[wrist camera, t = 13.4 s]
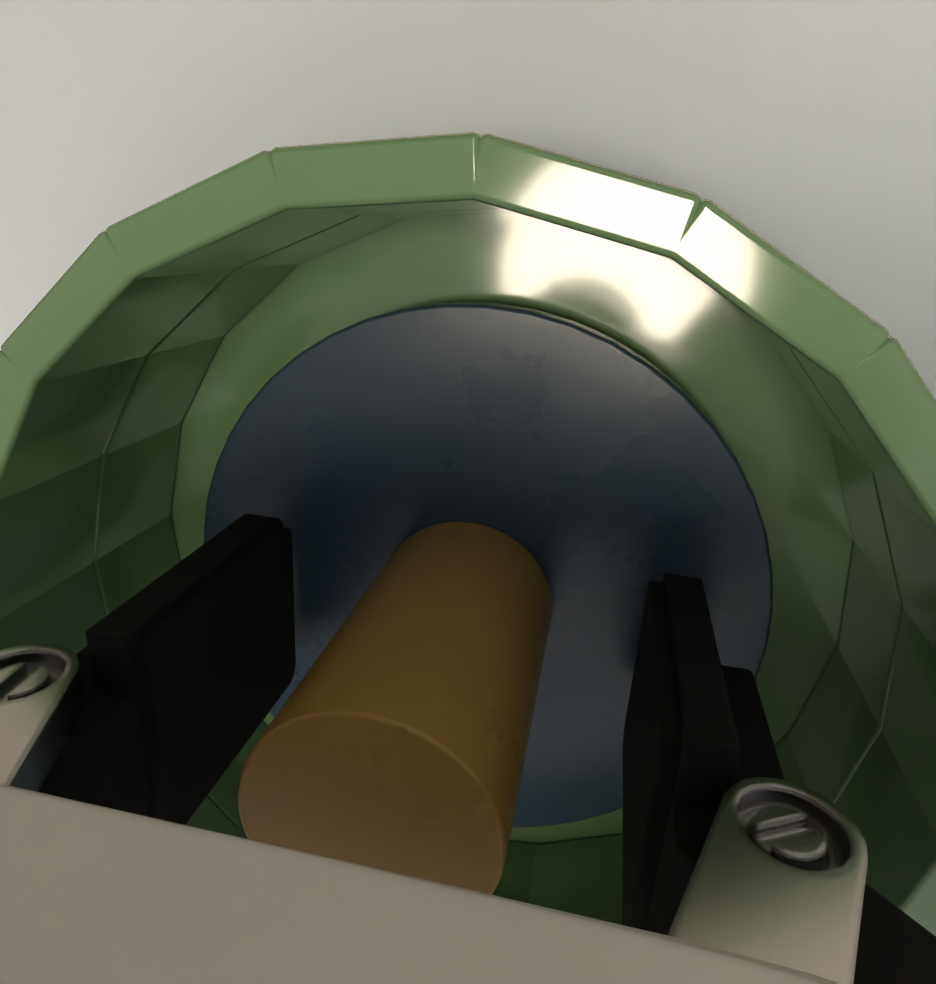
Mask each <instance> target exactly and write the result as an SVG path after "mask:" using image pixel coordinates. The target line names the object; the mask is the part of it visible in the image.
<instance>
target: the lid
mask: <svg viewBox="0 0 936 984" xmlns="http://www.w3.org/2000/svg"><path fill="white" fill-rule="evenodd" d="M245 514H254V515H261V516H268V517H275V518H279V519H280V520H281V521H282V524H283V527H286V528H289V529H290V530H291V533H292V546H293V581H294V616H295V651H296V667H295V672H294V676H293V679H292V681H291V683H290V685H289V686H288V687H287V689H286V690H285V692H284V693H283V694H282V696H281V697H280V698H279V700H278V701H277V702H276V704H275V705H274V706H273V708H272V709H271V710H270V712H269V713H270V714H271V715H272V716H273V717H274V719H273V720H272V722H271V723H270V725H269V726H268V727H267V729H266V730H265V731H264V733H263V734H262V736H261V737H260V738H259V740H258V741H257V743H256V744H255V745H254V747H253V748H252V750H251V751H250V753H249V755H248V757H247V758H246V760H245V763H244V766H243V768H242V771H241V775H240V781H239V787H238V806H239V813H240V818H241V822H242V825H243V829H244V832H245V834H246V836H247V838H248V839H249V840H254V841H258V842H263V843H267V844H271V845H276V846H280V847H285V848H289V849H293V850H298V851H302V852H307V853H311V854H315V855H320V856H324V857H329V858H333V859H337V860H342V861H346V862H351V863H355V864H359V865H364V866H368V867H373V868H377V869H381V870H386V871H390V872H395V873H399V874H403V875H408V876H412V877H417V878H421V879H425V880H430V881H434V882H439V883H443V884H447V885H452V886H456V887H460V888H465V889H469V890H473V891H477V892H482V893H486V894H490V895H492V894H493V892H494V890H495V889H496V887H497V886H498V884H499V881H500V879H501V876H502V874H503V870H504V865H505V860H506V855H507V850H508V844H509V839H510V834H511V829H512V828H522V827H540V826H552V825H558V824H564V823H570V822H576V821H582V820H585V819H589V818H592V817H596V816H599V815H603V814H606V813H610V812H613V811H615V810H618V809H620V808H622V807H623V735H624V726H625V719H626V713H627V707H628V701H629V695H630V689H631V683H632V678H633V672H634V666H635V660H636V654H637V648H638V642H639V636H640V630H641V624H642V618H643V612H644V606H645V600H646V595H647V589H648V584H649V581H650V580H652V581H659V582H662V579H663V576H664V574H665V573H667V574H674V575H681V576H688V577H695V578H701V579H702V582H703V586H704V591H705V595H706V600H707V604H708V609H709V613H710V617H711V622H712V626H713V631H714V635H715V639H716V644H717V648H718V653H719V657H720V662H721V665H725V666H731V667H738V668H744V669H749V670H751V671H752V673H753V676H754V678H755V680H756V678H757V675H758V672H759V669H760V666H761V663H762V660H763V657H764V654H765V651H766V647H767V643H768V637H769V631H770V625H771V618H772V612H773V570H772V563H771V557H770V550H769V544H768V537H767V533H766V530H765V526H764V523H763V520H762V517H761V514H760V511H759V507H758V504H757V501H756V498H755V495H754V493H753V491H752V489H751V487H750V485H749V483H748V481H747V479H746V477H745V475H744V473H743V471H742V469H741V467H740V465H739V463H738V461H737V459H736V457H735V455H734V453H733V451H732V450H731V448H730V447H729V445H728V444H727V442H726V441H725V440H724V438H723V437H722V435H721V434H720V432H719V431H718V429H717V428H716V426H715V425H714V423H713V422H712V420H711V419H710V418H709V417H708V416H707V415H706V414H705V412H704V411H703V410H702V409H701V408H700V407H699V406H698V405H697V404H696V403H695V402H694V400H693V399H692V398H691V397H690V396H689V395H688V394H687V393H686V392H685V391H684V389H683V388H681V387H680V386H679V385H678V384H677V383H675V382H674V381H673V380H672V379H671V378H669V377H668V376H667V375H666V374H665V373H663V372H662V371H661V370H660V369H659V368H657V367H656V366H655V365H654V364H653V363H651V362H650V361H649V360H647V359H646V358H644V357H642V356H641V355H639V354H637V353H636V352H634V351H633V350H631V349H629V348H628V347H626V346H625V345H623V344H621V343H620V342H618V341H617V340H615V339H613V338H611V337H609V336H607V335H605V334H602V333H600V332H598V331H596V330H593V329H591V328H589V327H587V326H584V325H582V324H580V323H578V322H576V321H573V320H570V319H566V318H563V317H559V316H556V315H553V314H549V313H546V312H543V311H539V310H536V309H532V308H525V307H519V306H512V305H506V304H499V303H493V302H443V303H435V304H427V305H419V306H411V307H407V308H403V309H400V310H396V311H392V312H389V313H385V314H381V315H378V316H374V317H371V318H368V319H365V320H362V321H360V322H358V323H355V324H353V325H351V326H348V327H346V328H344V329H342V330H339V331H337V332H335V333H332V334H330V335H328V336H327V337H325V338H324V339H322V340H320V341H319V342H317V343H315V344H314V345H312V346H311V347H309V348H307V349H306V350H304V351H303V352H301V353H299V354H298V355H297V356H296V357H294V358H293V359H292V360H291V361H290V362H289V363H287V364H286V365H285V366H284V367H283V368H282V369H280V370H279V371H278V372H277V373H276V374H275V375H273V376H272V377H271V378H270V379H269V380H268V382H267V383H266V384H265V385H264V386H263V387H262V388H261V390H260V391H259V392H258V393H257V394H256V395H255V397H254V398H253V399H252V400H251V401H250V402H249V404H248V405H247V407H246V408H245V410H244V411H243V413H242V414H241V416H240V418H239V419H238V421H237V422H236V424H235V426H234V427H233V429H232V430H231V432H230V434H229V436H228V438H227V441H226V443H225V445H224V448H223V450H222V452H221V454H220V457H219V459H218V461H217V464H216V467H215V471H214V475H213V478H212V482H211V486H210V489H209V493H208V498H207V506H206V514H205V522H204V544H205V543H206V542H207V541H209V540H210V539H211V538H213V537H214V536H215V535H217V534H218V533H220V532H221V531H222V530H224V529H225V528H226V527H228V526H229V525H230V524H232V523H233V522H234V521H236V520H237V519H239V518H240V517H241V516H243V515H245Z"/></svg>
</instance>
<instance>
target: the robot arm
mask: <svg viewBox="0 0 936 984" xmlns="http://www.w3.org/2000/svg"><path fill="white" fill-rule="evenodd" d="M85 633H86V640H87V646H86V647H85V648H83V649H82V650H81V651H79V652H78V653H77V654H76V653H74V652H73V651H71V650H70V649H69V648H66V647H63V646H59V645H55V644H29V645H20V646H16V647H11V648H7V649H3V650H0V984H936V936H934V935H933V934H932V933H930V932H929V931H928V930H927V929H925V928H924V927H923V926H921V925H920V924H919V923H917V922H916V921H915V920H913V919H912V918H911V917H910V916H908V915H907V914H906V913H904V912H903V911H902V910H900V909H899V908H898V907H896V906H895V905H894V904H893V903H891V902H890V901H889V900H887V899H886V898H885V897H883V896H882V895H881V894H879V893H878V892H877V891H876V890H874V889H873V888H872V887H870V886H869V885H868V884H866V883H865V881H866V873H867V865H868V854H867V846H866V842H865V840H864V838H863V836H862V834H861V832H860V831H859V829H858V827H857V825H856V824H855V823H854V822H853V821H852V820H851V819H850V818H849V817H848V815H847V814H846V813H845V812H844V811H843V810H842V809H841V808H839V807H838V806H836V805H835V804H834V803H832V802H831V801H830V800H828V799H827V798H826V797H824V796H823V795H821V794H819V793H817V792H815V791H813V790H811V789H809V788H807V787H805V786H803V785H800V784H796V783H793V782H790V781H787V780H784V777H783V773H782V770H781V766H780V763H779V760H778V756H777V753H776V749H775V746H774V743H773V739H772V736H771V733H770V729H769V726H768V722H767V719H766V716H765V712H764V709H763V705H762V702H761V699H760V695H759V692H758V688H757V685H756V682H755V678H754V676H753V673H752V671H751V670H749V669H744V668H738V667H731V666H725V665H721V662H720V657H719V653H718V648H717V644H716V639H715V635H714V631H713V626H712V622H711V617H710V613H709V609H708V604H707V600H706V595H705V591H704V586H703V582H702V579H701V578H695V577H688V576H681V575H674V574H667V573H665V574H664V576H663V579H662V582H659V581H652V580H650V581H649V584H648V589H647V595H646V600H645V606H644V612H643V618H642V624H641V630H640V636H639V642H638V648H637V654H636V660H635V666H634V672H633V678H632V683H631V689H630V695H629V701H628V707H627V713H626V719H625V726H624V735H623V883H622V925H620V924H615V923H611V922H607V921H603V920H598V919H594V918H590V917H585V916H581V915H577V914H572V913H568V912H564V911H559V910H555V909H551V908H546V907H542V906H538V905H534V904H529V903H525V902H521V901H516V900H512V899H508V898H503V897H499V896H495V895H490V894H486V893H482V892H477V891H473V890H469V889H465V888H460V887H456V886H452V885H447V884H443V883H439V882H434V881H430V880H425V879H421V878H417V877H412V876H408V875H403V874H399V873H395V872H390V871H386V870H381V869H377V868H373V867H368V866H364V865H359V864H355V863H351V862H346V861H342V860H337V859H333V858H329V857H324V856H320V855H315V854H311V853H307V852H302V851H298V850H293V849H289V848H285V847H280V846H276V845H271V844H267V843H263V842H258V841H254V840H249V839H245V838H240V837H236V836H232V835H227V834H223V833H218V832H214V831H209V830H205V829H200V828H196V827H191V826H187V825H186V823H187V822H188V821H189V819H190V818H191V817H192V815H193V814H194V813H195V811H196V810H197V809H198V807H199V806H200V805H201V803H202V802H203V801H204V799H205V798H206V797H207V795H208V794H209V793H210V791H211V790H212V788H213V787H214V786H215V784H216V783H217V782H218V780H219V779H220V778H221V776H222V775H223V774H224V772H225V771H226V770H227V768H228V767H229V766H230V764H231V763H232V762H233V760H234V759H235V757H236V756H237V755H238V753H239V752H240V751H241V749H242V748H243V747H244V745H245V744H246V743H247V741H248V740H249V739H250V737H251V736H252V735H253V733H254V732H255V731H256V729H257V728H258V727H259V725H260V724H261V722H262V721H263V720H264V718H265V717H266V716H267V714H268V713H269V712H270V710H271V709H272V708H273V706H274V705H275V704H276V702H277V701H278V700H279V698H280V697H281V696H282V694H283V693H284V692H285V690H286V689H287V687H288V686H289V685H290V683H291V681H292V679H293V676H294V672H295V667H296V651H295V616H294V581H293V546H292V533H291V530H290V529H289V528H286V527H283V524H282V521H281V520H280V519H279V518H275V517H268V516H261V515H254V514H245V515H243V516H241V517H240V518H239V519H237V520H236V521H234V522H233V523H232V524H230V525H229V526H228V527H226V528H225V529H224V530H222V531H221V532H220V533H218V534H217V535H215V536H214V537H213V538H211V539H210V540H209V541H207V542H206V543H205V544H203V545H202V546H201V547H199V548H198V549H196V550H195V551H194V552H192V553H191V554H190V555H188V556H187V557H186V558H184V559H183V560H182V561H180V562H179V563H177V564H176V565H175V566H173V567H172V568H171V569H169V570H168V571H167V572H165V573H164V574H163V575H161V576H160V577H158V578H157V579H156V580H154V581H153V582H152V583H150V584H149V585H148V586H146V587H145V588H144V589H142V590H141V591H139V592H138V593H137V594H135V595H134V596H133V597H131V598H130V599H129V600H127V601H126V602H125V603H123V604H122V605H120V606H119V607H118V608H116V609H115V610H114V611H112V612H111V613H110V614H108V615H107V616H106V617H104V618H103V619H101V620H100V621H99V622H97V623H96V624H95V625H93V626H92V627H91V628H89V629H88V630H87V631H85Z"/></svg>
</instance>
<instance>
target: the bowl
mask: <svg viewBox="0 0 936 984" xmlns="http://www.w3.org/2000/svg"><path fill="white" fill-rule="evenodd" d="M443 302H493V303H499V304H506V305H512V306H519V307H525V308H532V309H536V310H539V311H543V312H546V313H549V314H553V315H556V316H559V317H563V318H566V319H570V320H573V321H576V322H578V323H580V324H582V325H584V326H587V327H589V328H591V329H593V330H596V331H598V332H600V333H602V334H605V335H607V336H609V337H611V338H613V339H615V340H617V341H618V342H620V343H621V344H623V345H625V346H626V347H628V348H629V349H631V350H633V351H634V352H636V353H637V354H639V355H641V356H642V357H644V358H646V359H647V360H649V361H650V362H651V363H653V364H654V365H655V366H656V367H657V368H659V369H660V370H661V371H662V372H663V373H665V374H666V375H667V376H668V377H669V378H671V379H672V380H673V381H674V382H675V383H677V384H678V385H679V386H680V387H681V388H683V389H684V391H685V392H686V393H687V394H688V395H689V396H690V397H691V398H692V399H693V400H694V402H695V403H696V404H697V405H698V406H699V407H700V408H701V409H702V410H703V411H704V412H705V414H706V415H707V416H708V417H709V418H710V419H711V420H712V422H713V423H714V425H715V426H716V428H717V429H718V431H719V432H720V434H721V435H722V437H723V438H724V440H725V441H726V442H727V444H728V445H729V447H730V448H731V450H732V451H733V453H734V455H735V457H736V459H737V461H738V463H739V465H740V467H741V469H742V471H743V473H744V475H745V477H746V479H747V481H748V483H749V485H750V487H751V489H752V491H753V493H754V495H755V498H756V501H757V504H758V507H759V511H760V514H761V517H762V520H763V523H764V526H765V530H766V533H767V537H768V544H769V550H770V557H771V563H772V570H773V612H772V618H771V625H770V631H769V637H768V643H767V647H766V651H765V654H764V657H763V660H762V663H761V666H760V669H759V672H758V675H757V678H756V680H755V682H756V685H757V688H758V692H759V695H760V699H761V702H762V705H763V709H764V712H765V716H766V719H767V722H768V726H769V729H770V733H771V736H772V739H773V743H774V746H775V749H776V753H777V756H778V760H779V763H780V766H781V770H782V773H783V777H784V780H787V781H790V782H793V783H796V784H800V785H803V786H805V787H807V788H809V789H811V790H813V791H815V792H817V793H819V794H821V795H823V796H824V797H826V798H827V799H828V800H830V801H831V802H832V803H834V804H835V805H836V806H838V807H839V808H841V809H842V810H843V811H844V812H845V813H846V814H847V815H848V817H849V818H850V819H851V820H852V821H853V822H854V823H855V824H856V825H857V827H858V829H859V831H860V832H861V834H862V836H863V838H864V840H865V842H866V846H867V854H868V865H867V873H866V881H865V883H866V884H868V885H869V886H870V887H872V888H873V889H874V890H876V891H877V892H878V893H879V894H881V895H882V896H883V897H885V898H886V899H887V900H889V901H890V902H891V903H893V904H894V905H895V906H896V907H898V908H899V909H900V910H902V911H903V912H904V913H906V914H907V915H908V916H910V917H911V918H912V919H913V920H915V921H916V922H917V923H919V924H920V925H921V926H923V927H924V928H925V929H927V930H928V931H929V932H930V933H932V934H933V935H934V936H936V400H935V398H934V397H933V395H932V393H931V392H930V390H929V389H928V387H927V386H926V384H925V383H924V381H923V379H922V378H921V376H920V375H919V373H918V372H917V370H916V368H915V367H914V365H913V364H912V362H911V361H910V359H909V358H908V356H907V354H906V353H905V351H904V350H903V348H902V347H901V345H900V344H899V342H898V340H897V339H895V338H894V337H892V336H889V333H888V331H887V329H886V328H884V327H883V326H882V325H880V324H879V323H878V322H876V321H875V320H874V319H872V318H871V317H869V316H868V315H867V314H865V313H864V312H863V311H861V310H860V309H858V308H857V307H856V306H854V305H853V304H852V303H850V302H849V301H848V300H846V299H845V298H843V297H842V296H841V295H839V294H838V293H837V292H835V291H834V290H833V289H831V288H830V287H828V286H827V285H826V284H824V283H823V282H822V281H820V280H819V279H817V278H816V277H815V276H813V275H812V274H811V273H809V272H808V271H807V270H805V269H804V268H802V267H801V266H800V265H798V264H797V263H796V262H794V261H793V260H791V259H790V258H789V257H787V256H786V255H785V254H783V253H782V252H781V251H779V250H778V249H776V248H775V247H774V246H772V245H771V244H770V243H768V242H767V241H765V240H764V239H763V238H761V237H760V236H759V235H757V234H756V233H755V232H753V231H752V230H750V229H749V228H748V227H746V226H745V225H744V224H742V223H741V222H739V221H738V220H737V219H735V218H734V217H733V216H731V215H730V214H729V213H727V212H726V211H724V210H723V209H722V208H720V207H719V206H718V205H716V204H715V203H714V202H712V201H711V200H705V199H704V200H702V201H701V197H700V196H699V195H698V194H696V193H693V192H689V191H686V190H683V189H679V188H676V187H672V186H669V185H665V184H662V183H658V182H655V181H651V180H648V179H644V178H641V177H637V176H634V175H630V174H627V173H623V172H620V171H616V170H613V169H610V168H606V167H603V166H599V165H596V164H592V163H589V162H585V161H582V160H578V159H575V158H571V157H568V156H564V155H561V154H557V153H554V152H550V151H547V150H543V149H540V148H536V147H533V146H530V145H526V144H523V143H519V142H516V141H512V140H509V139H505V138H502V137H498V136H495V135H491V134H484V135H482V136H481V135H479V134H477V133H474V132H469V133H456V134H443V135H430V136H416V137H403V138H390V139H377V140H364V141H351V142H338V143H325V144H312V145H299V146H285V147H276V148H274V149H273V150H271V151H262V152H260V153H258V154H256V155H254V156H252V157H250V158H248V159H246V160H244V161H242V162H240V163H237V164H235V165H233V166H231V167H229V168H227V169H225V170H223V171H221V172H219V173H217V174H215V175H213V176H211V177H209V178H207V179H205V180H203V181H201V182H199V183H197V184H194V185H192V186H190V187H188V188H186V189H184V190H182V191H180V192H178V193H176V194H174V195H172V196H170V197H168V198H166V199H164V200H162V201H160V202H158V203H156V204H154V205H151V206H149V207H147V208H145V209H143V210H141V211H139V212H137V213H135V214H133V215H131V216H129V217H127V218H125V219H123V220H121V221H119V222H117V223H115V224H113V225H111V226H109V227H108V228H107V229H106V231H104V232H101V233H100V234H99V235H98V236H97V237H96V239H95V240H94V241H93V242H92V243H91V244H90V245H89V247H88V248H87V249H86V250H85V251H84V252H83V253H82V255H81V256H80V257H79V258H78V259H77V260H76V261H75V262H74V264H73V265H72V266H71V267H70V268H69V269H68V270H67V272H66V273H65V274H64V275H63V276H62V277H61V278H60V280H59V281H58V282H57V283H56V284H55V285H54V286H53V288H52V289H51V290H50V291H49V292H48V293H47V294H46V296H45V297H44V298H43V299H42V300H41V301H40V302H39V304H38V305H37V306H36V307H35V308H34V309H33V310H32V312H31V313H30V314H29V315H28V316H27V317H26V318H25V319H24V321H23V322H22V323H21V324H20V325H19V326H18V327H17V329H16V330H15V331H14V332H13V333H12V334H11V335H10V337H9V338H8V339H7V340H6V341H5V342H4V343H3V345H2V346H1V351H0V650H3V649H7V648H11V647H16V646H20V645H29V644H55V645H59V646H63V647H66V648H69V649H70V650H71V651H73V652H74V653H76V654H77V653H78V652H79V651H81V650H82V649H83V648H85V647H86V646H87V640H86V633H85V631H87V630H88V629H89V628H91V627H92V626H93V625H95V624H96V623H97V622H99V621H100V620H101V619H103V618H104V617H106V616H107V615H108V614H110V613H111V612H112V611H114V610H115V609H116V608H118V607H119V606H120V605H122V604H123V603H125V602H126V601H127V600H129V599H130V598H131V597H133V596H134V595H135V594H137V593H138V592H139V591H141V590H142V589H144V588H145V587H146V586H148V585H149V584H150V583H152V582H153V581H154V580H156V579H157V578H158V577H160V576H161V575H163V574H164V573H165V572H167V571H168V570H169V569H171V568H172V567H173V566H175V565H176V564H177V563H179V562H180V561H182V560H183V559H184V558H186V557H187V556H188V555H190V554H191V553H192V552H194V551H195V550H196V549H198V548H199V547H201V546H202V545H203V544H204V522H205V514H206V506H207V498H208V493H209V489H210V486H211V482H212V478H213V475H214V471H215V467H216V464H217V461H218V459H219V457H220V454H221V452H222V450H223V448H224V445H225V443H226V441H227V438H228V436H229V434H230V432H231V430H232V429H233V427H234V426H235V424H236V422H237V421H238V419H239V418H240V416H241V414H242V413H243V411H244V410H245V408H246V407H247V405H248V404H249V402H250V401H251V400H252V399H253V398H254V397H255V395H256V394H257V393H258V392H259V391H260V390H261V388H262V387H263V386H264V385H265V384H266V383H267V382H268V380H269V379H270V378H271V377H272V376H273V375H275V374H276V373H277V372H278V371H279V370H280V369H282V368H283V367H284V366H285V365H286V364H287V363H289V362H290V361H291V360H292V359H293V358H294V357H296V356H297V355H298V354H299V353H301V352H303V351H304V350H306V349H307V348H309V347H311V346H312V345H314V344H315V343H317V342H319V341H320V340H322V339H324V338H325V337H327V336H328V335H330V334H332V333H335V332H337V331H339V330H342V329H344V328H346V327H348V326H351V325H353V324H355V323H358V322H360V321H362V320H365V319H368V318H371V317H374V316H378V315H381V314H385V313H389V312H392V311H396V310H400V309H403V308H407V307H411V306H419V305H427V304H435V303H443ZM273 719H274V717H273V716H272V715H271V714H270V713H268V714H267V716H266V717H265V718H264V720H263V721H262V722H261V724H260V725H259V727H258V728H257V729H256V731H255V732H254V733H253V735H252V736H251V737H250V739H249V740H248V741H247V743H246V744H245V745H244V747H243V748H242V749H241V751H240V752H239V753H238V755H237V756H236V757H235V759H234V760H233V762H232V763H231V764H230V766H229V767H228V768H227V770H226V771H225V772H224V774H223V775H222V776H221V778H220V779H219V780H218V782H217V783H216V784H215V786H214V787H213V788H212V790H211V791H210V793H209V794H208V795H207V797H206V798H205V799H204V801H203V802H202V803H201V805H200V806H199V807H198V809H197V810H196V811H195V813H194V814H193V815H192V817H191V818H190V819H189V821H188V822H187V823H186V825H187V826H191V827H196V828H200V829H205V830H209V831H214V832H218V833H223V834H227V835H232V836H236V837H240V838H245V839H248V838H247V836H246V834H245V832H244V829H243V825H242V822H241V818H240V813H239V806H238V787H239V781H240V775H241V771H242V768H243V766H244V763H245V760H246V758H247V757H248V755H249V753H250V751H251V750H252V748H253V747H254V745H255V744H256V743H257V741H258V740H259V738H260V737H261V736H262V734H263V733H264V731H265V730H266V729H267V727H268V726H269V725H270V723H271V722H272V720H273ZM622 883H623V807H622V808H620V809H618V810H615V811H613V812H610V813H606V814H603V815H599V816H596V817H592V818H589V819H585V820H582V821H576V822H570V823H564V824H558V825H552V826H540V827H522V828H512V829H511V834H510V839H509V844H508V850H507V855H506V860H505V865H504V870H503V874H502V876H501V879H500V881H499V884H498V886H497V887H496V889H495V890H494V892H493V894H492V895H495V896H499V897H503V898H508V899H512V900H516V901H521V902H525V903H529V904H534V905H538V906H542V907H546V908H551V909H555V910H559V911H564V912H568V913H572V914H577V915H581V916H585V917H590V918H594V919H598V920H603V921H607V922H611V923H615V924H620V925H622Z"/></svg>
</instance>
